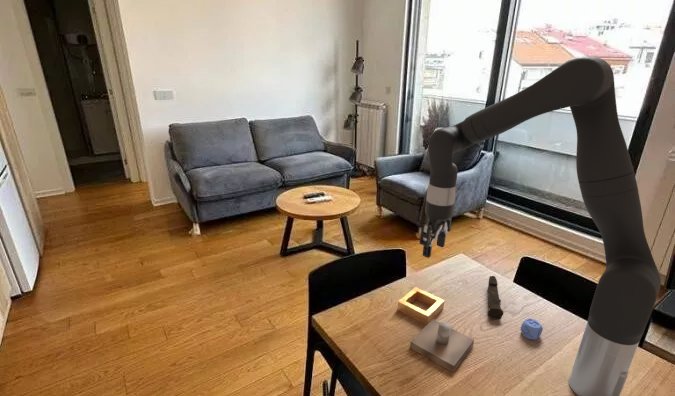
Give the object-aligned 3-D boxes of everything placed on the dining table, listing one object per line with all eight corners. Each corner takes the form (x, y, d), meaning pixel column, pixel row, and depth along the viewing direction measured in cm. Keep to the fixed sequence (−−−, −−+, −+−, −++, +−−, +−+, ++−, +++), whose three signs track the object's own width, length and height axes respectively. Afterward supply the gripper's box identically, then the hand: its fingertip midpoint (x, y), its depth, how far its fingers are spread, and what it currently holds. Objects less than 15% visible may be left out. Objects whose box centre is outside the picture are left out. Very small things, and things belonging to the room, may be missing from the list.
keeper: (473, 345, 97) (477, 324, 95) (452, 372, 89) (456, 349, 86) (432, 324, 105) (434, 304, 102) (409, 347, 96) (412, 325, 94)
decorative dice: (533, 342, 99) (536, 330, 98) (519, 333, 102) (521, 321, 101) (541, 336, 101) (544, 324, 100) (527, 328, 104) (530, 316, 103)
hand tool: (501, 321, 107) (504, 308, 105) (486, 318, 108) (489, 305, 106) (499, 286, 123) (501, 275, 122) (486, 284, 125) (488, 272, 123)
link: (443, 308, 112) (444, 300, 111) (427, 324, 105) (428, 316, 104) (414, 295, 118) (415, 287, 117) (397, 309, 111) (398, 301, 110)
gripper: (440, 210, 95) (433, 265, 100) (464, 196, 105) (456, 246, 110) (415, 202, 99) (409, 255, 105) (439, 190, 109) (433, 238, 115)
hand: (433, 251), depth 108 cm, fingers open, 8 cm apart
